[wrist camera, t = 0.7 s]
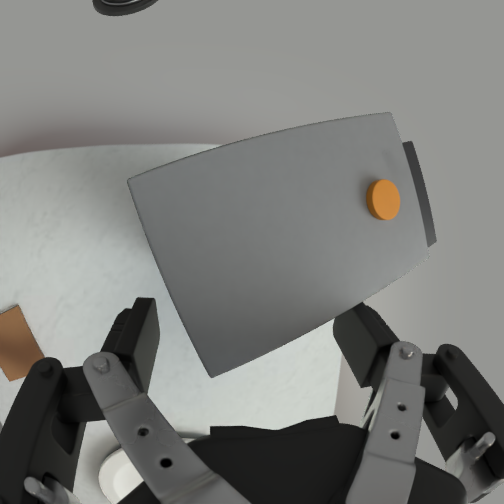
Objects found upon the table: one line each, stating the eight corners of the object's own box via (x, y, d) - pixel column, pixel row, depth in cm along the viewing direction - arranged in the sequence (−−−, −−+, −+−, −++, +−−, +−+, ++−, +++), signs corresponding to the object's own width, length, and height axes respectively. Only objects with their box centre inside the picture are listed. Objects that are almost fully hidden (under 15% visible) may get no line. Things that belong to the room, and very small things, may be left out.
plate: (290, 462, 40) (295, 470, 37) (200, 528, 36) (202, 535, 34) (152, 401, 32) (152, 411, 30) (77, 483, 28) (75, 491, 26)
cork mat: (-19, 324, 24) (-21, 325, 23) (18, 304, 26) (16, 306, 25) (10, 380, 25) (9, 381, 25) (50, 366, 27) (48, 368, 27)
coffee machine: (156, 214, 30) (123, 176, 7) (251, 180, 33) (407, 108, 10) (178, 271, 32) (212, 385, 8) (270, 234, 35) (444, 252, 11)
